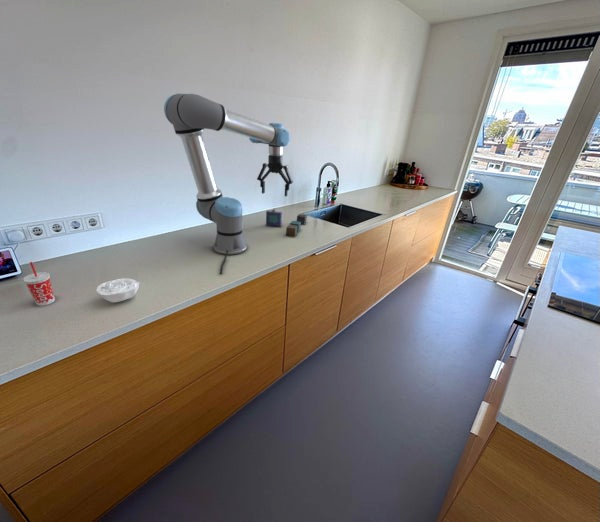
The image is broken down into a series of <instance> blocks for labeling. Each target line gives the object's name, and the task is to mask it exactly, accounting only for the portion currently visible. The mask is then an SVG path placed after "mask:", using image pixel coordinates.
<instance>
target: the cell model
mask: <svg viewBox="0 0 600 522" xmlns="http://www.w3.org/2000/svg"><path fill="white" fill-rule="evenodd" d="M139 287H140V282H139V281H137V280H135V279H133V278H126V277H122V278H118V279H113V280H109V281H105V282H103V283H101V284H99V285H98V286H97V287H96V292H97V294H99V295H100V297H101V298H102V299H103V300H105V301H108V302H109V303H112V304H115V303H120V302H123V301H126V300H129V299H132V298H134V297H135V295H136V294H137V292H138V290H139Z"/></svg>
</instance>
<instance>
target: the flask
mask: <svg viewBox="0 0 600 522" xmlns="http://www.w3.org/2000/svg"><path fill="white" fill-rule="evenodd" d="M282 215H283V212H282V211H278V210H276V208H273V209H268V210H266V212H265V226H266V227H271V228H272V227H273V228H274V227H275V228H281V227H282V221H283V220H282V218H283V216H282Z"/></svg>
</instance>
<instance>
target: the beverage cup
mask: <svg viewBox="0 0 600 522" xmlns="http://www.w3.org/2000/svg"><path fill="white" fill-rule="evenodd" d="M29 264H30V267H31V269H32V271H33V273H31V274H28V275H26V276H24V277H23V279H22V282H24V284H26V287H27V289H28V290H29V293H30V295H31V296H32V298H33V301H34V302H35V304H36V305H37V306H39V307H41V306H47V305H51V304H52V303H54V302H55V301H56V297H55V294H54V289H53V287H52V282H51V279H50V277H51V275H50V273H49V272H45V271H41V272H36V269H35V266H34V264H33V262H32V261H30V262H29Z"/></svg>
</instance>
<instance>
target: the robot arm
mask: <svg viewBox="0 0 600 522" xmlns="http://www.w3.org/2000/svg"><path fill="white" fill-rule="evenodd" d="M163 105H164V107H163V112H164V115H165V116H164V117H165V118H166V119H167V121H168V122H169V123H170V124H171V125H172V127H173V130H174V134H175V135H176V136H178V137H179V138H180V139H181V142H182V145H183V148H184V151H185V154H186V158H187V161H188V164H189V167H190V171H191V173H192V176H193V179H194V182H195V185H196V189H197V194H195V197H196V202H195V207H196V211H197V212H198V214H199V215H201V217H203V218H204V219H206V220H209V221H210V222H213V223H214V224H216V225H215V226H216V236H215V239H214V243H213V251H214V252H215V253H216V254H219V255H224V258H223V261H222V264H221V266H220V271H219V274H220V275H222V274H223V269H224V265H225V263H226V260H227V256H234V255H239V254H243V253H245V252H246V251H247V248H248V247H247V245H248V244H247V242H246V239H245V235H244V234H243V205H242V203H241V201H240V200H239V199H236V198H233V197H229V196H228V197H227V196H224V195H223V193H222V190H221V189H220V188H218V187H217V183H216V180H215V176H214V172H213V168H212V165H211V162H210V158H209V154H208V151H207V147H206V144H205V140H204V136H203V133H204V131H205V130H212V131H216V132H220V131H226V132H230V133H233V134H235V135H239V136H243V137H245V138H249V141H250V142H251V143H253V144H263V145H268V156H267V157H268V159H267V161H268V162H267V163H266V162H264V163H262V168H261V169H260V171H259V173H258V176H257V177H256V180H257V181H259V183H260V185H259V186H260V188H261V194H262V195H263V194H265V193H266V181H265V179H266V178H268V176H269V175H270V174H278V175H280V177H281V178H282V179H283V181H284V182H285V184H284V197H288V191H290V185H291V184H293V183H294V181H293V178H292V175H291V172H290V171H289V165H283V154H284V153H283V151H284V147H287V146H288V145H289V144H290V141H291V135H290V132H289V131H288V130H287V129H285V128H284V124H282V123H279V122H269V124H268V123H265V122H262V121H260V120H256V119H254V118H251V117H248V116H246V115H242V114H240V113H238V112H235V111H232V110H229V109H227V108H225V106H224V105H223V104H221V103H219V102H215V101H213V100H212V99H209V98H206V97H204V96H202V95H199V94H196V93H176V94H172V95H170V96H168V97H167V98H166V100H165V102H164V104H163ZM266 168H267V171H266ZM283 170H284V171H283ZM265 171H266V173H265Z"/></svg>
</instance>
